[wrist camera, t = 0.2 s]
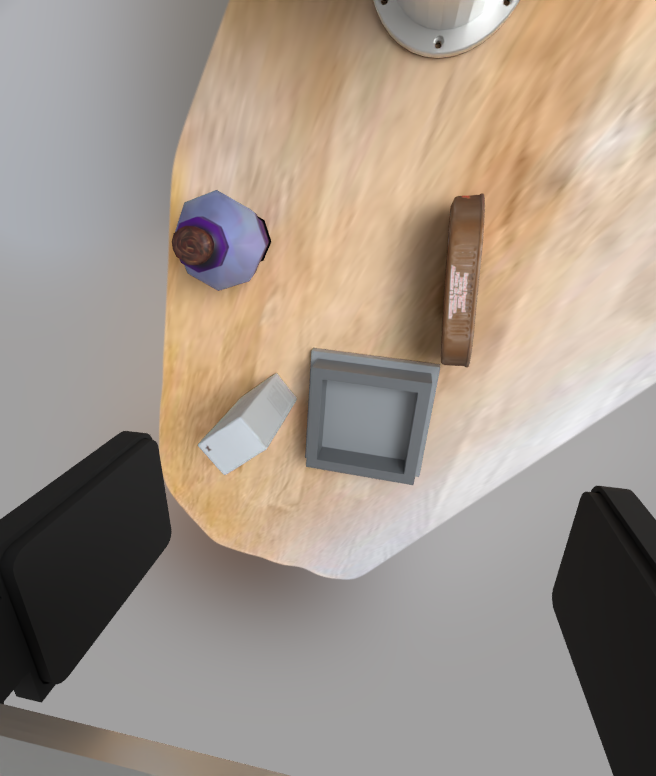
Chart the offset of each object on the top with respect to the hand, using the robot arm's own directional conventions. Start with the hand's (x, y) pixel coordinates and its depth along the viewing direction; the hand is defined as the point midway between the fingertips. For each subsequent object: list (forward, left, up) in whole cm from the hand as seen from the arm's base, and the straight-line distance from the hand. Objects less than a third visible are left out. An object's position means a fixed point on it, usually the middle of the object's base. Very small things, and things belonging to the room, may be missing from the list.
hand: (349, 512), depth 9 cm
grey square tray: (+15, -2, -36) cm, 39 cm away
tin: (-1, +5, -37) cm, 37 cm away
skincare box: (+15, -14, -37) cm, 42 cm away
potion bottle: (-3, -17, -37) cm, 40 cm away
